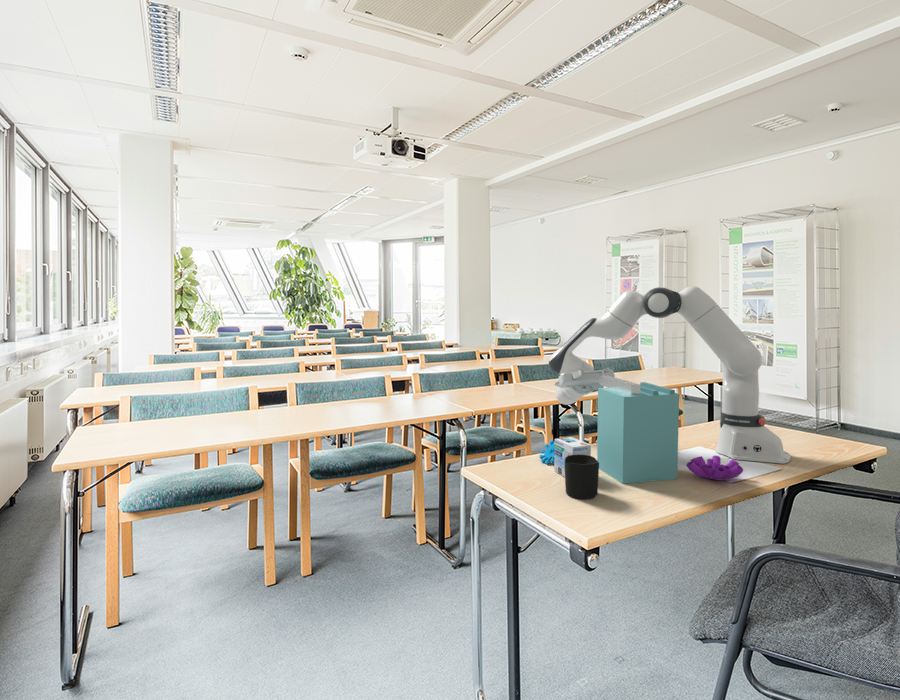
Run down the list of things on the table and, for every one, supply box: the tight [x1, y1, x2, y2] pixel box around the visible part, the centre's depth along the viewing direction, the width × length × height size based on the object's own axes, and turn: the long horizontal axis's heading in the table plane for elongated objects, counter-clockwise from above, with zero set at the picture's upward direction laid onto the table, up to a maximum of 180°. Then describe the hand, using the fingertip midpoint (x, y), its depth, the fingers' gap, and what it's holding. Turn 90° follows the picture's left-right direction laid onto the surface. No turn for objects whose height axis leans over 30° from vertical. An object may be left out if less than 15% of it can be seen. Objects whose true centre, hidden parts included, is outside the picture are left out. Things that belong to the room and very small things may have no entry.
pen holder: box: [564, 455, 600, 500], centre depth 148 cm, size 9×9×10 cm
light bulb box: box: [553, 436, 592, 478], centre depth 164 cm, size 11×7×11 cm, turn 21°
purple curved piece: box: [686, 455, 744, 481], centre depth 158 cm, size 11×15×10 cm
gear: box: [539, 439, 555, 465], centre depth 177 cm, size 11×6×10 cm
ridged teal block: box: [596, 381, 680, 485], centre depth 164 cm, size 16×18×27 cm
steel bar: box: [599, 376, 640, 395], centre depth 166 cm, size 20×3×3 cm, turn 11°
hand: (595, 370), depth 182 cm, fingers open, 8 cm apart
